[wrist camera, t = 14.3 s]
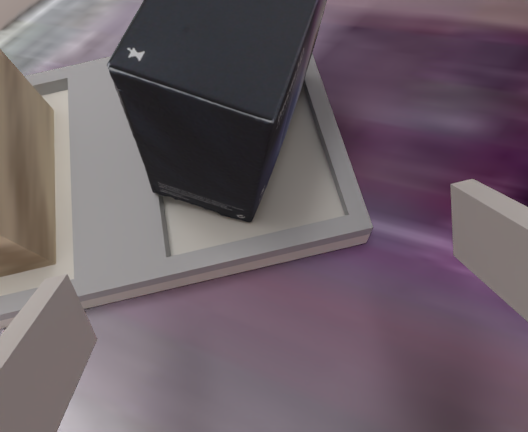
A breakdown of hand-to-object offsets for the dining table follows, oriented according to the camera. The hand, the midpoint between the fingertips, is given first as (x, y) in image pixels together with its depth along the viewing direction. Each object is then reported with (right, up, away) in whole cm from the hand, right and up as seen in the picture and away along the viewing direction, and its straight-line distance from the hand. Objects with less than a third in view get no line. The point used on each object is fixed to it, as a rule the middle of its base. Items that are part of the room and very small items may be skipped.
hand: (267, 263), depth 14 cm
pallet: (-9, +4, +13) cm, 16 cm away
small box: (-2, +6, +11) cm, 13 cm away
